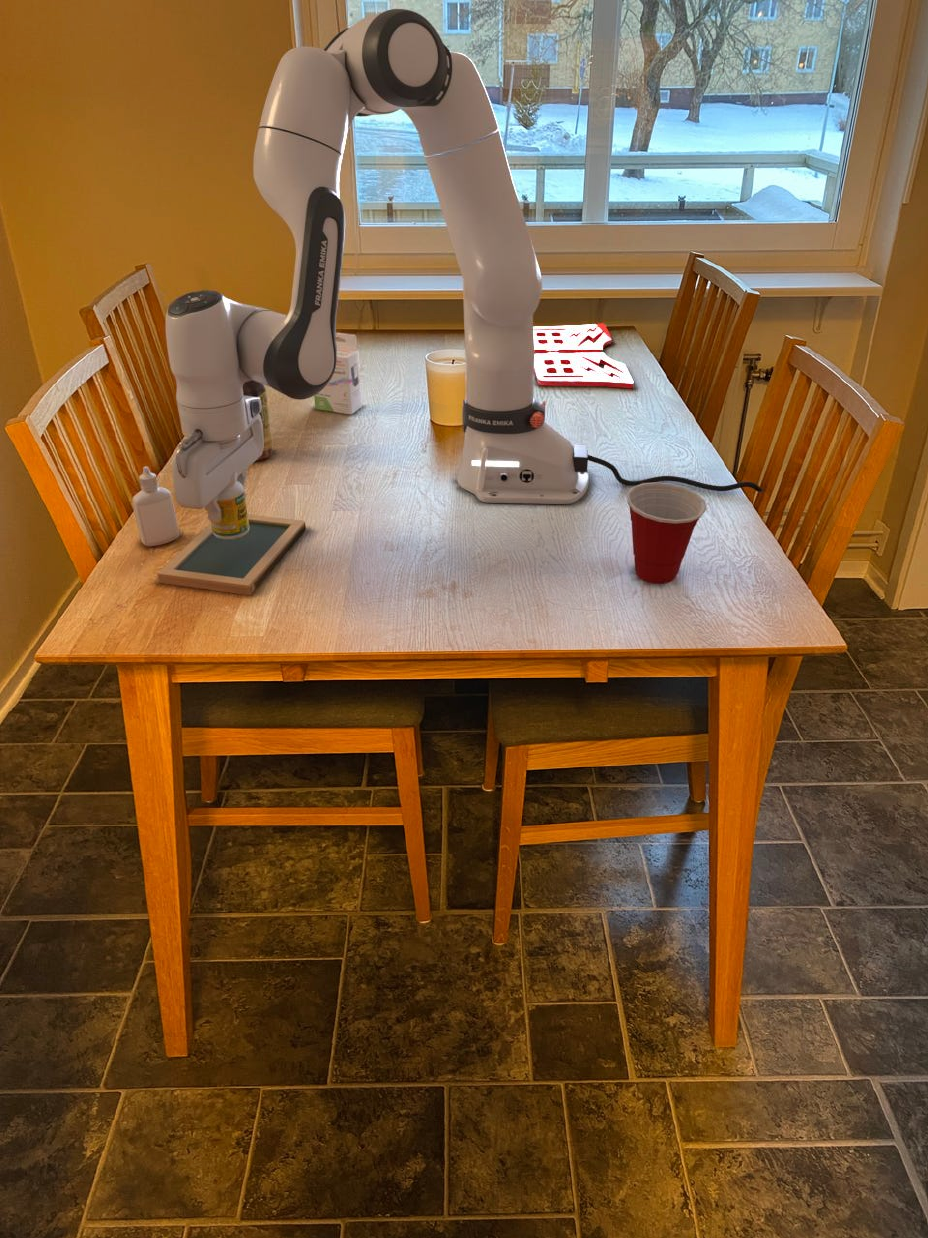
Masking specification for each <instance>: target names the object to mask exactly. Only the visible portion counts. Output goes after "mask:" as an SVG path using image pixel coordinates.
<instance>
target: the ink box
mask: <svg viewBox="0 0 928 1238" xmlns="http://www.w3.org/2000/svg"><path fill="white" fill-rule="evenodd" d="M338 338H339V339H340V340H344V341H337V340H336V342H337V364H336V368H335V371H334V374H333V376H332V378H331V380H330V381H329V383H328V384H327V385H326V386H325V387H324V388H323V389H322V390H321V391H320V392H319V393H317V394H316V395H314V396H313V399H314V408H315V410H320V411H325V412H331V413H337V414H338V413H339V414H345V415H353V414H354V413H356V412H357V411H358V410H359V409H361V408H362V406H363V403H362V401H363V400H362V387H361V385H362V384H361V372H360V355H359V354H360V353H359V350H358V338H357V335H356V334H352V333H351V334H350V333H343V332H337V331H336V339H338Z"/></svg>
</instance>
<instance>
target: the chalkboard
mask: <svg viewBox="0 0 928 1238" xmlns="http://www.w3.org/2000/svg"><path fill="white" fill-rule="evenodd" d="M247 514H248V513H247ZM248 521H249V531H248V533H247V534H246V535H244V536H242V537H240V538H237V539H231V540H223V539H219V538H217V537H216V536H215V535H214V534H213V532H212V526H211V522H209V524H208V525H206V526H205V527H204V528H203V529H202V531H200V532H199V533H198V534H197V535H196V536H195V537H194V538H193V539H192V540H191V541H190V542H189V543H188V544H187V545H185V547H183V548H182V549H181V550H180V551H179V552H178V553H177V554H176V555H175V556H174V557H173V558H172V559H171V560H170V561H169V562H168V563H167V564H165V565H164V567H162V568H161V569H160V570H159V571H158V572H157V573H156V574H157V579H158V583H159V584H162V585H163V584H164V585H171V586H179V587H187V588H193V589H201V590H208V591H214V592H223V593H231V594H237V595H243V596H245V595H246V596H251V595H252V594H253V593H254V591H255V590H256V589H257V588H258V587H259V586H260V585H261V583H262V582H263V581H264V580H265V579H266V578H267V576H268V575H269V574H270V573H271V572H272V571H273V569H274V568H275V567H276V566H277V564H279V562H280V561H281V560H282V559H283V557H284V556H285V555H286V554H287V553H288V551H290V549H291V548H292V547H293V546H294V545H295V544H296V543H297V542H298V541H299V539H300V538H301V537H302V535H303V534H304V533H305V532H306V531H307V528H306V521H305V520H300V519H293V518H283V517H274V516H267V515H260V514H259V515H257V514H248Z"/></svg>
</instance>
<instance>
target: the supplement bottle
mask: <svg viewBox="0 0 928 1238" xmlns="http://www.w3.org/2000/svg"><path fill="white" fill-rule="evenodd" d="M245 495H246V493H245V494H244V488H243V486H242V484H241V483H240V482H238V481H237V474H236V471H235V472H234V473H233V474H232V475H231V483H230V484H229V485H228V486H227V487H226V488H225V489H224V490H223V491H222V492H220V493H219V494H218V501H217V503H218V505H219V507H223V509H224V515H225V517H224V518H223V519H222V520H221V521H220V522H218V523H217V522H211V521H210V523H211V526H212V532H213V534H214V535H215V536H216V537H217V538H219V539H223V540H231V539H237V538H240V537H242V536H244V535H246V534H247V533H248V531H249V521H248V509H247V502H246V497H245Z"/></svg>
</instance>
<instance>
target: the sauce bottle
mask: <svg viewBox="0 0 928 1238" xmlns="http://www.w3.org/2000/svg"><path fill="white" fill-rule="evenodd" d="M243 394H244V396H252V397H258V398H260V399H261V404H262V410H261V412H260V413H259V414H260V416H261V420H262V427H263V437H264V448H263V452H262V455H261V456H260V457H259V458H258V459H257V460H256V461H255V462H257V461H262V460H265V459H268V458H270V457H271V456H272V454H273V438H272V429H271V421H270V412H269V411H270V410H269V404H268V393H267V389H266V387H265V385H264V384H261V383H259V382H256V381H253V380H251V381H248V382H245V383H244V384H243Z"/></svg>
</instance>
